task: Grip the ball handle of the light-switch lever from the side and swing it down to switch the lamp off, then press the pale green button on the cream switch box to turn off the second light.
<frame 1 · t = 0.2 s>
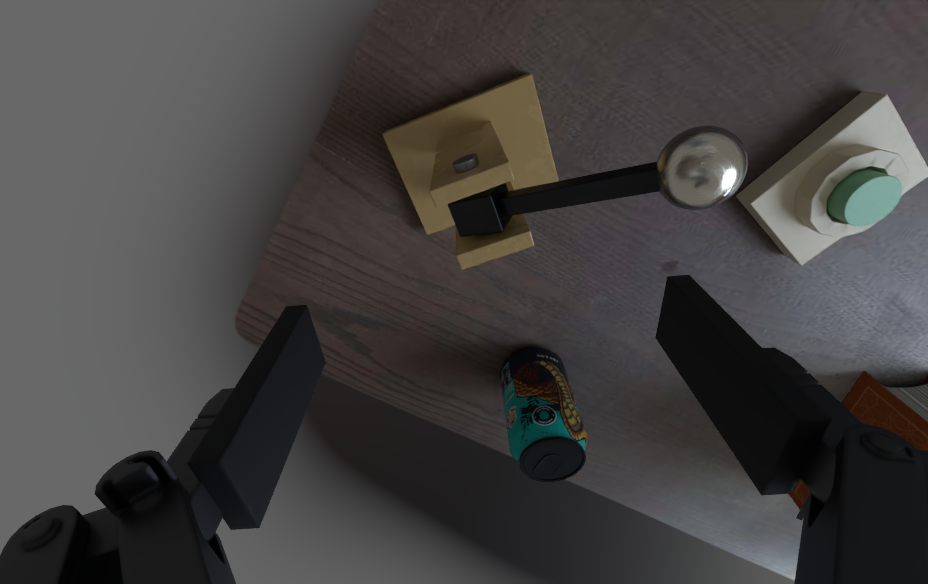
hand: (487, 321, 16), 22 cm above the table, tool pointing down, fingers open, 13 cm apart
beverage can: (530, 367, 47), on the table
switch lever: (580, 190, 21), point 14 cm above the table, hinge at 25.0°
switch box: (819, 181, 36), on the table
switch bracket: (473, 158, 34), on the table
book: (847, 437, 54), on the table
light button: (863, 198, 32), point 4 cm above the table, slide at 0.1 cm
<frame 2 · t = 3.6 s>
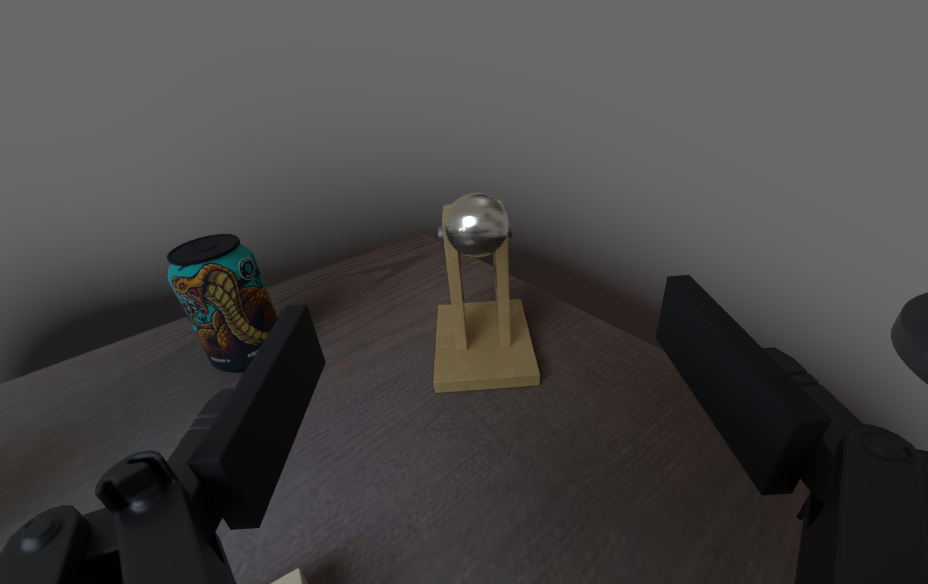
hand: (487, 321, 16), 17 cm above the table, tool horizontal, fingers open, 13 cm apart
beverage can: (251, 354, 43), on the table
switch lever: (475, 229, 29), point 14 cm above the table, hinge at 25.0°
switch bracket: (483, 345, 41), on the table
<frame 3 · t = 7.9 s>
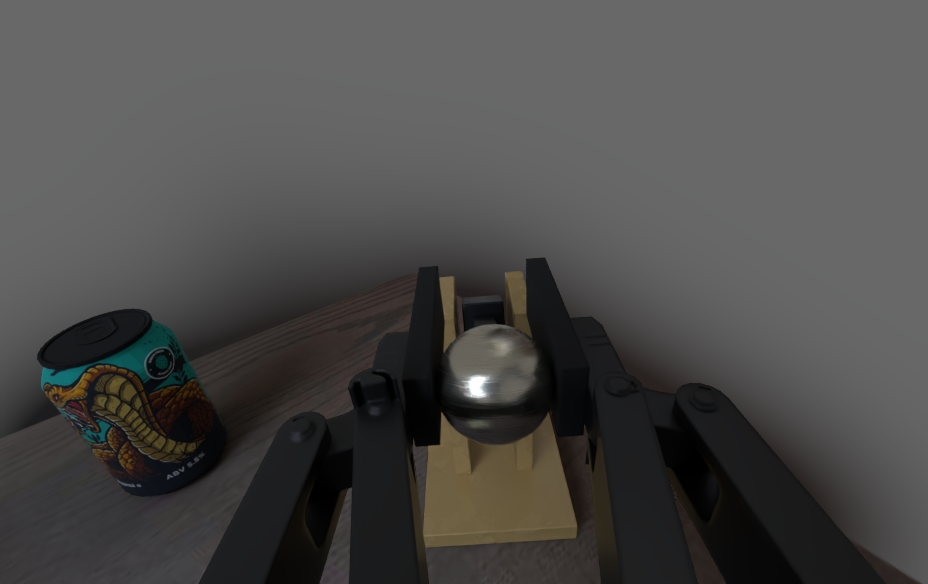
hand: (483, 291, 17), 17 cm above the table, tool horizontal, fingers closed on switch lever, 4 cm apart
beverage can: (181, 461, 32), on the table
switch lever: (487, 343, 18), point 14 cm above the table, hinge at 25.0°, touching gripper
switch bracket: (492, 457, 30), on the table
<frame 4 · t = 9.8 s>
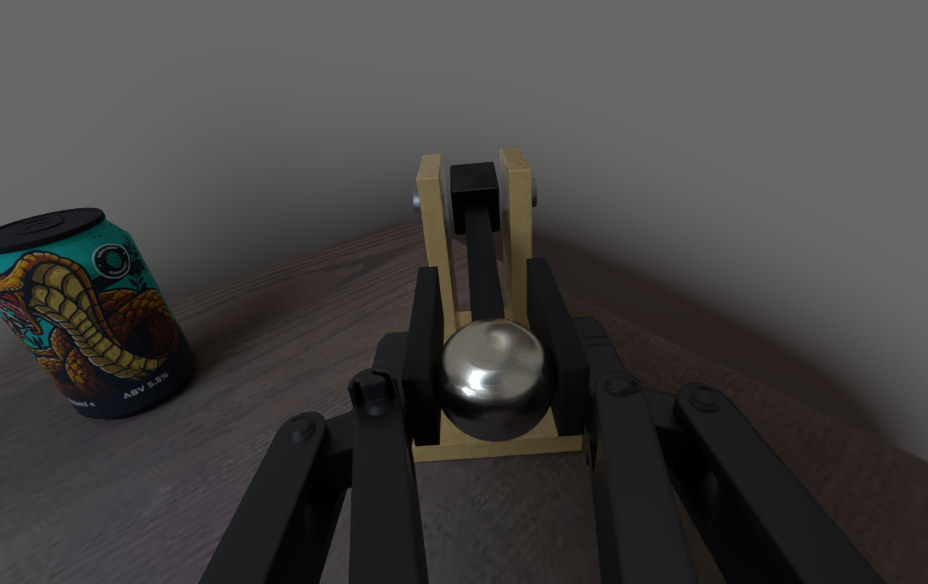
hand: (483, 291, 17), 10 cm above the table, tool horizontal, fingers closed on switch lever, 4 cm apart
beverage can: (145, 388, 29), on the table
switch lever: (482, 268, 16), point 11 cm above the table, hinge at -10.1°, touching gripper
switch bracket: (487, 377, 27), on the table
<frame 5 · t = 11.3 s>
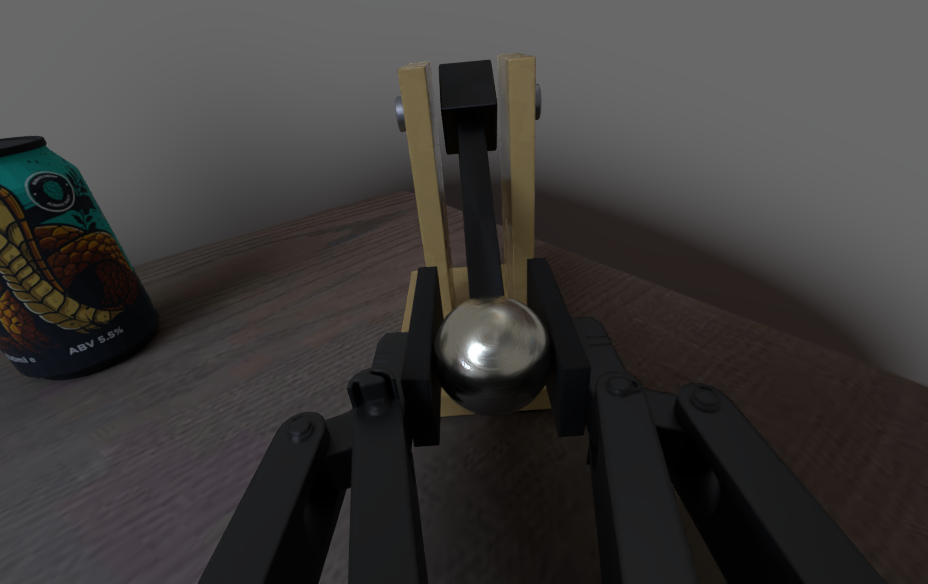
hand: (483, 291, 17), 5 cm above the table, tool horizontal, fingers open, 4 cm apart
beverage can: (101, 349, 26), on the table
switch lever: (478, 214, 15), point 9 cm above the table, hinge at -31.1°
switch bracket: (483, 333, 24), on the table
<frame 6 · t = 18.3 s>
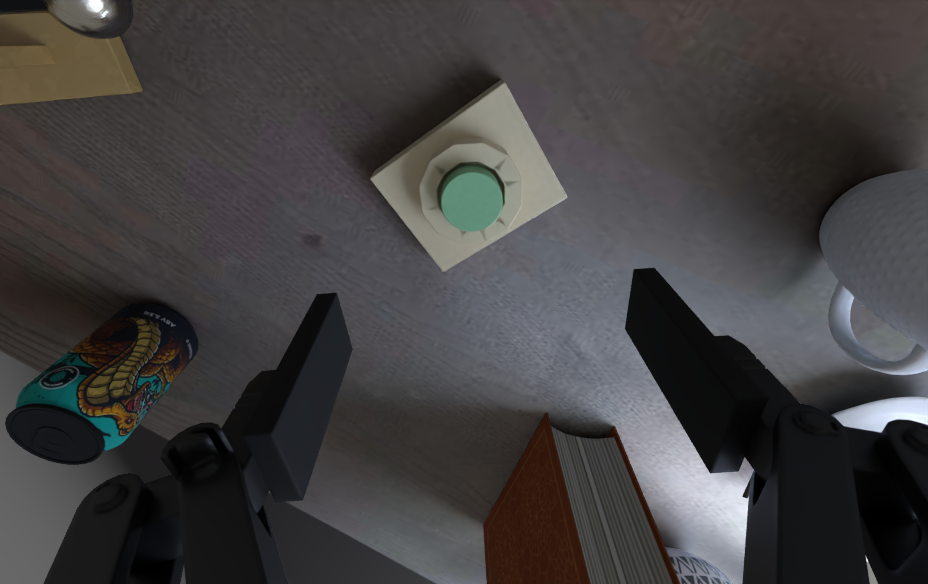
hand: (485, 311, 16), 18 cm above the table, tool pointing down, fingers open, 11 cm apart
beverage can: (163, 329, 38), on the table
mug: (851, 228, 34), on the table
switch box: (469, 179, 32), on the table
switch bracket: (15, 20, 26), on the table
book: (541, 481, 51), on the table
candlestick: (842, 449, 49), on the table
light button: (471, 198, 28), point 4 cm above the table, slide at 0.1 cm
planter: (652, 556, 61), on the table
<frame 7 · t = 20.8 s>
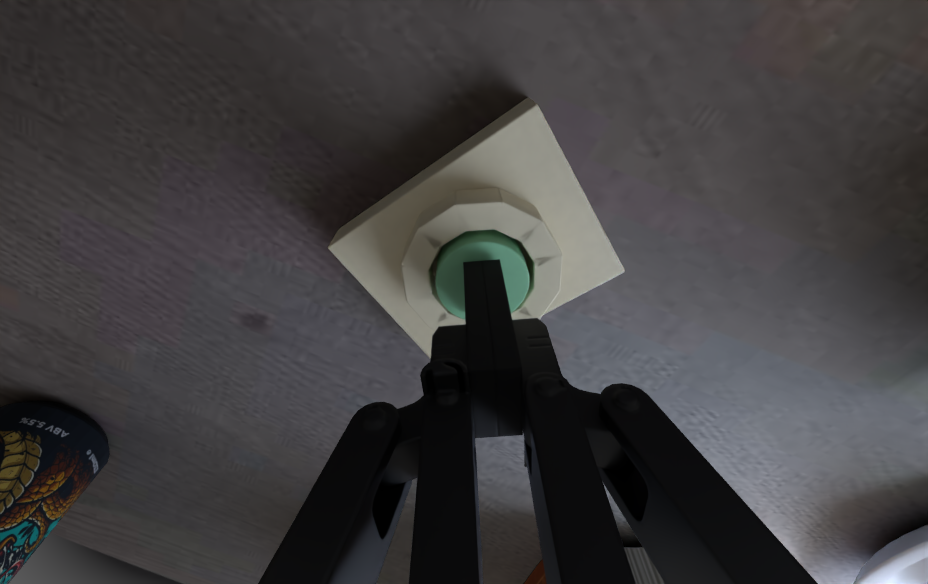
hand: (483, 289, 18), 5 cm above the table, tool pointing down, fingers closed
beverage can: (62, 429, 28), on the table
switch box: (477, 240, 22), on the table
light button: (481, 274, 18), point 4 cm above the table, slide at -0.8 cm, touching gripper
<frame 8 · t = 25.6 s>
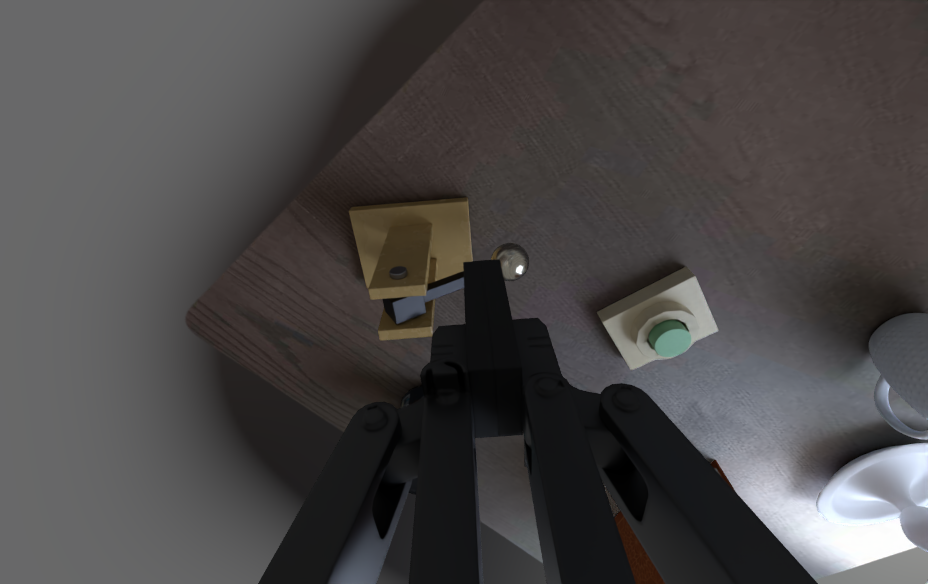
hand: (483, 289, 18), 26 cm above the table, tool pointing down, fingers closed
beverage can: (427, 400, 58), on the table
switch lever: (461, 279, 37), point 9 cm above the table, hinge at -30.4°
mug: (889, 339, 54), on the table
switch box: (653, 316, 51), on the table
switch bracket: (415, 242, 45), on the table
book: (654, 497, 70), on the table
candlestick: (874, 474, 68), on the table
light button: (669, 338, 47), point 4 cm above the table, slide at 0.1 cm
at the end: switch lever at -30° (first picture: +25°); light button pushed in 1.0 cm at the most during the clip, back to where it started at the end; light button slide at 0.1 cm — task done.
